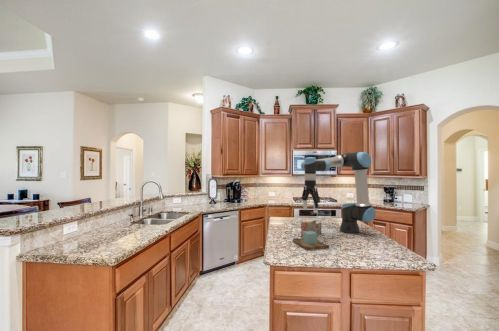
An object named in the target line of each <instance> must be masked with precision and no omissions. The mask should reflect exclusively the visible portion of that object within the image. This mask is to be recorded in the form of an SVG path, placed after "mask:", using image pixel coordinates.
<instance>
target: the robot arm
mask: <svg viewBox="0 0 499 331" xmlns="http://www.w3.org/2000/svg"><path fill="white" fill-rule="evenodd" d="M370 155H371V154H369V153H368V152H366V151H359V152H358V151H355V152H347V153H343V154H337V155H335V156H332V157H324V158H316V157H313V156H306V157H305V158H304V161H302V162H301V164H300V168H301V170H302V171H304V186H303V190H302V194H301V200H302V205H303V207H302V208H303V211H307V210H308V198H309V195H310V196H311V199H312V200H313V214H318V213H319V203H321V199H320V196H319V191H318V187H316V186H317V172H327V171H329V170H330V168H335V167H338V168H341V167H343V168H351V170H352V172H353V173H354V181H355V182H354V184H355V193H356V194H355V195H356V202H351V203H350V202H349V203H348V202H347V203H346V202H345V203H342V205H341V224H340V227H339V232H342V233H345V234H359V233H360V228H359V224H358V221H360V222H363V223H371V222H373V221H374V220H375V218H376V212H377V211H376V209H375V208H374V207H372V203H371V202H370V197H369V187H368V186H369V185H368V175H367V174H368V172H367V171H368V170H369V167H370V166H371V165H372V156H370Z"/></svg>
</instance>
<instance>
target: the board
mask: <svg viewBox="0 0 499 331" xmlns="http://www.w3.org/2000/svg"><path fill="white" fill-rule="evenodd" d="M292 242H293V243H294V244H296V245H297V246H299V248H300V247H301V248H302V249H304V250H306V251H307V250H308V251H316V250H317V249H318V250H326V249H327V248H328V249H330V245H329V244H326V243H324V242H323V241H320V240H318V239H317V244H310V245H308V244H306V243H304V242H303V238H301V237H300V238H293V239H292Z"/></svg>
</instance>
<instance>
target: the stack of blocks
mask: <svg viewBox="0 0 499 331" xmlns="http://www.w3.org/2000/svg"><path fill="white" fill-rule="evenodd" d="M300 230H301V232H300V238H303V231H313V232H316V233H317V236H318V235H321V234H322V222H321V221H317V219H310V218H307V219H305V220H302V221H300Z"/></svg>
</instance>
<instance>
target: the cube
mask: <svg viewBox="0 0 499 331" xmlns="http://www.w3.org/2000/svg"><path fill="white" fill-rule="evenodd" d="M317 240H318V235H317V233H316V232H313V231H303V242H304V243H306V244H308V245H310V244H317Z"/></svg>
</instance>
